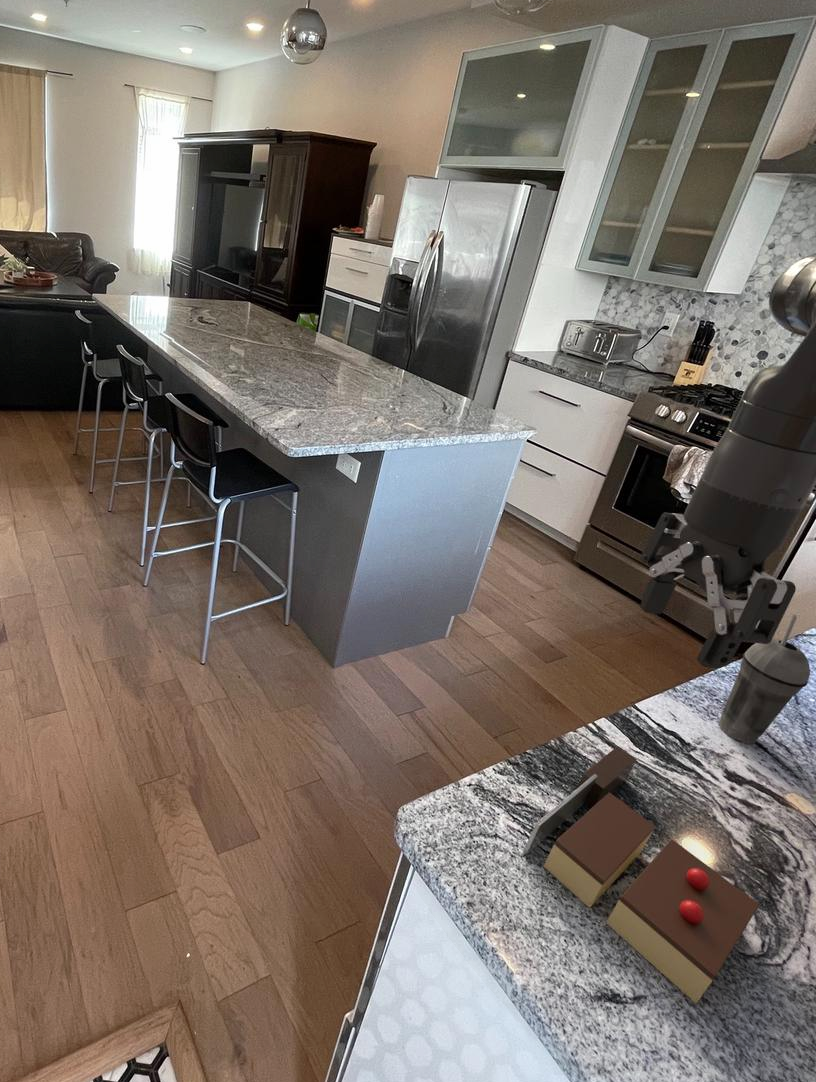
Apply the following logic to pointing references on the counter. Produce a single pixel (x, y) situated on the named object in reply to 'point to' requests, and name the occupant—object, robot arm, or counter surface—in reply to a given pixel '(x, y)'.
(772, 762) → the counter surface
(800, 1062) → the counter surface
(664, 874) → the sheet cake
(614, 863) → the cake slice
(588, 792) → the knife
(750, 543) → the robot arm
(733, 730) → the beverage cup
